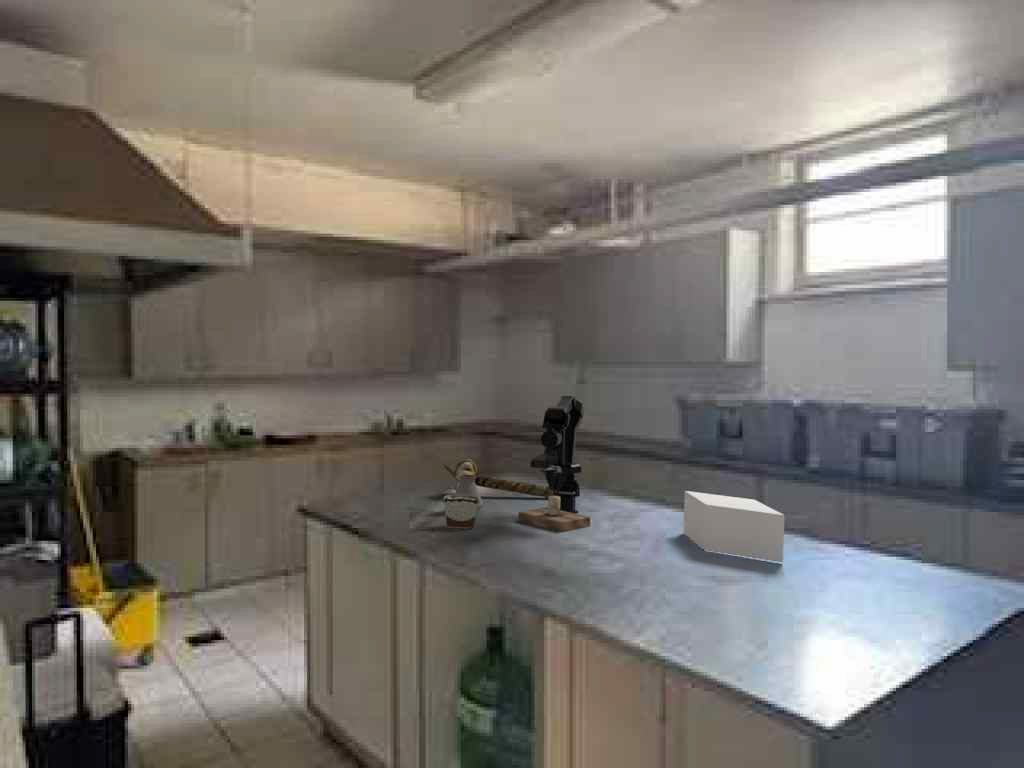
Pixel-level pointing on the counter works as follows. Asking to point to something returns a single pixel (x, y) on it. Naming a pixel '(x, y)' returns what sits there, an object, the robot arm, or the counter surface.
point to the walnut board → (554, 520)
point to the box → (734, 526)
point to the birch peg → (554, 506)
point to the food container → (460, 510)
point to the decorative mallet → (499, 481)
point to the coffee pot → (467, 486)
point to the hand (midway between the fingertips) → (554, 491)
